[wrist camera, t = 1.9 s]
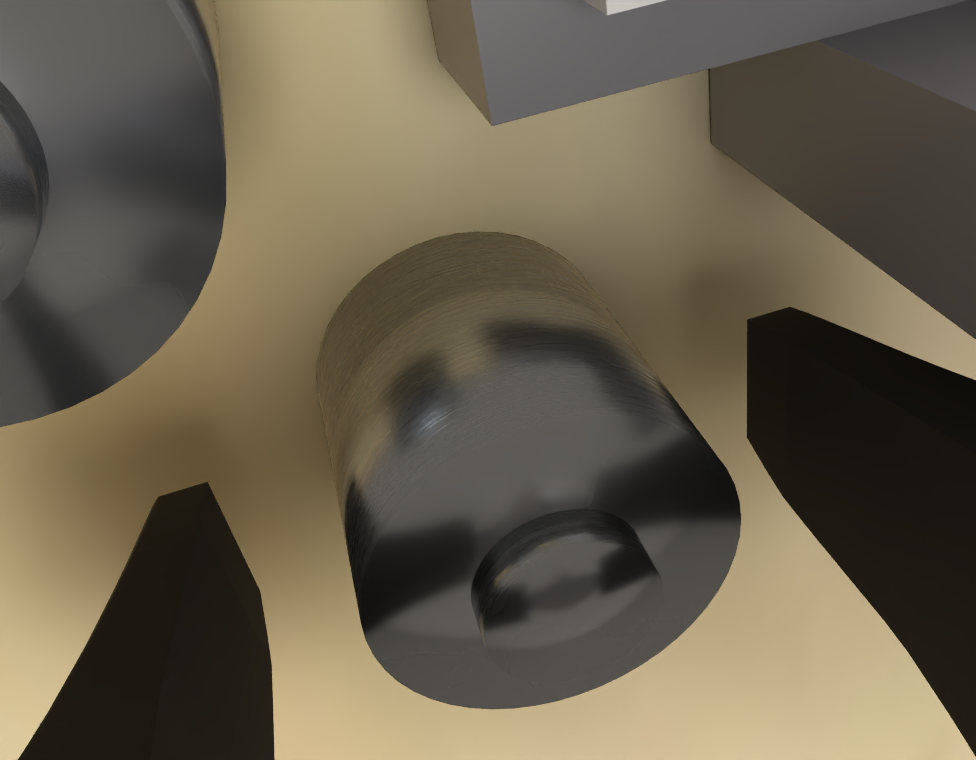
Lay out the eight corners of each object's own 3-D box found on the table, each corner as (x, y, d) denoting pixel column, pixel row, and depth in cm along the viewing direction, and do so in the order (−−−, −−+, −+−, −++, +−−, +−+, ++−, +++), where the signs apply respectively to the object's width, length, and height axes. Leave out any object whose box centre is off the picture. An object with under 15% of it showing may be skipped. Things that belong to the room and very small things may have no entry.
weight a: (615, 435, 15) (764, 676, 11) (359, 514, 15) (418, 796, 11) (588, 194, 13) (769, 397, 9) (277, 281, 12) (314, 537, 8)
